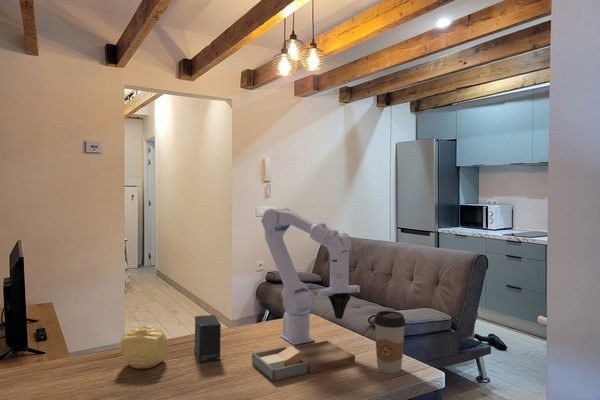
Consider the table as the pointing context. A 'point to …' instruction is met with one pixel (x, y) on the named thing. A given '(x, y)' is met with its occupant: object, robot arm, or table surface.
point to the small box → (207, 338)
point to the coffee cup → (389, 340)
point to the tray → (281, 372)
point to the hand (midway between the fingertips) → (338, 318)
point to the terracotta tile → (290, 356)
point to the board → (324, 356)
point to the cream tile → (274, 361)
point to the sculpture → (144, 346)
